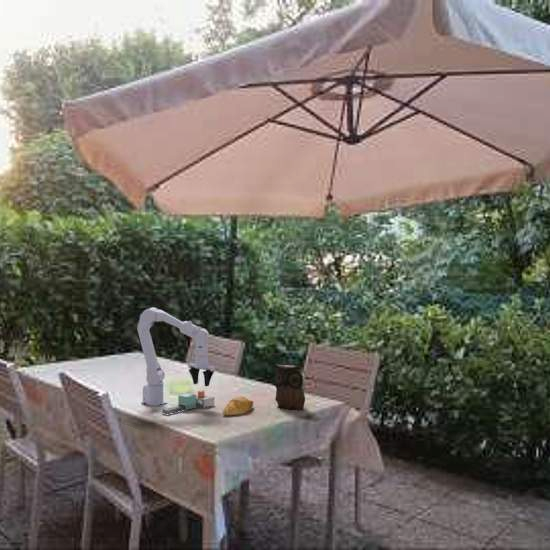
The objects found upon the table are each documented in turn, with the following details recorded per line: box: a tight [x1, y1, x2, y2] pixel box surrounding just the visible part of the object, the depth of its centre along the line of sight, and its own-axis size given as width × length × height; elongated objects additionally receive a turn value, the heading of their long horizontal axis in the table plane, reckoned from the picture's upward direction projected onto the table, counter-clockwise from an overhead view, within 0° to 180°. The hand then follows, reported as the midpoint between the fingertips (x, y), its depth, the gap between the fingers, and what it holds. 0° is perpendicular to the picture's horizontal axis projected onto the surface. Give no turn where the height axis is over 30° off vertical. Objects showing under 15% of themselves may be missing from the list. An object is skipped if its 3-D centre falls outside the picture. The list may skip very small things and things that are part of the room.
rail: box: [162, 403, 199, 415], centre depth 318 cm, size 3×19×2 cm, turn 142°
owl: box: [274, 363, 306, 411], centre depth 325 cm, size 13×13×20 cm
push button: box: [197, 390, 206, 398], centre depth 328 cm, size 3×3×4 cm
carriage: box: [177, 392, 196, 411], centre depth 321 cm, size 5×6×6 cm
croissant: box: [222, 396, 254, 416], centre depth 318 cm, size 21×10×8 cm, turn 148°
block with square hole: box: [195, 393, 215, 409], centre depth 328 cm, size 10×7×4 cm
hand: (201, 385), depth 328 cm, fingers open, 6 cm apart
